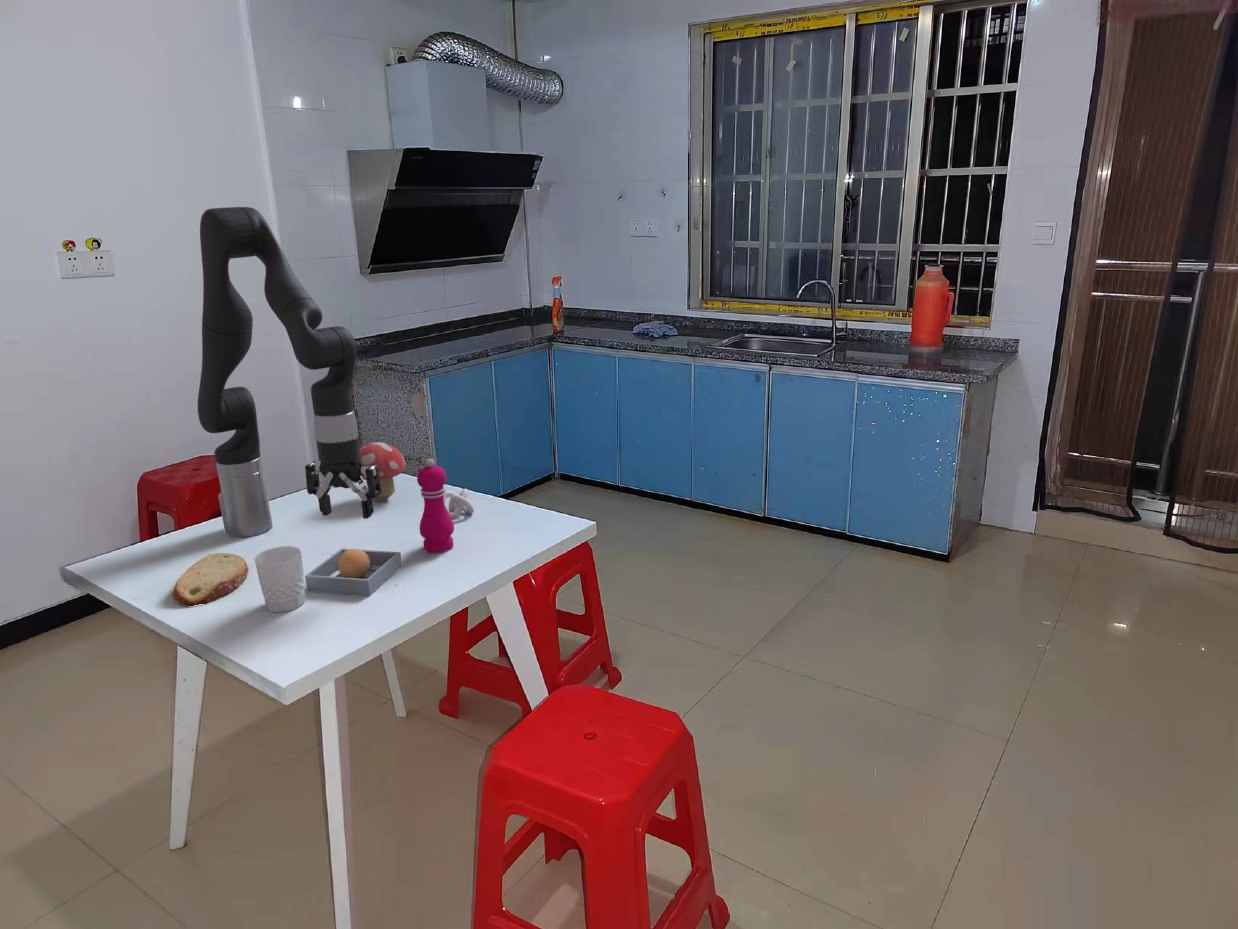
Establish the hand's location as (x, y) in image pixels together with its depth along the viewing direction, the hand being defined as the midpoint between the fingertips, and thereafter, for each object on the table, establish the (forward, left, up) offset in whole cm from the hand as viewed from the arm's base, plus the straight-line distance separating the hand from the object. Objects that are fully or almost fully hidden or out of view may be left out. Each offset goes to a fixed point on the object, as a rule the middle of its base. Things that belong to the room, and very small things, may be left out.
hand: (347, 515), depth 152 cm
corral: (0, 0, -13) cm, 13 cm away
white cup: (-7, -12, -14) cm, 20 cm away
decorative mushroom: (-17, +43, -14) cm, 48 cm away
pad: (0, 0, -13) cm, 13 cm away
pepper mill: (+10, +17, -14) cm, 24 cm away
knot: (+6, +36, -14) cm, 39 cm away
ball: (0, 0, -10) cm, 10 cm away
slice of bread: (-29, -6, -14) cm, 32 cm away
